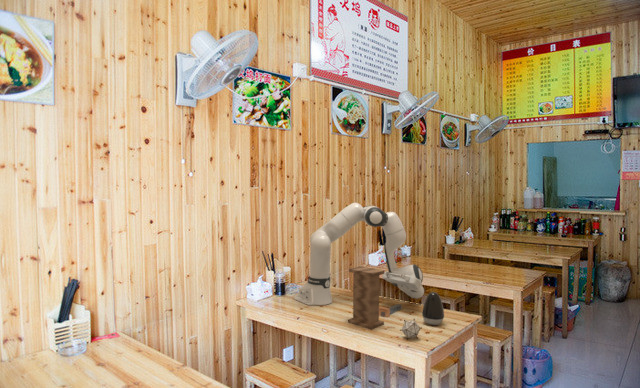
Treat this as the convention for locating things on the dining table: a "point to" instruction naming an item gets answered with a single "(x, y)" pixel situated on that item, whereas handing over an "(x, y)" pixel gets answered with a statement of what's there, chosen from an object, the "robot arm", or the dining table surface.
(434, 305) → the pump dispenser
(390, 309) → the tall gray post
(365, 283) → the walnut stand
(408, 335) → the game die
